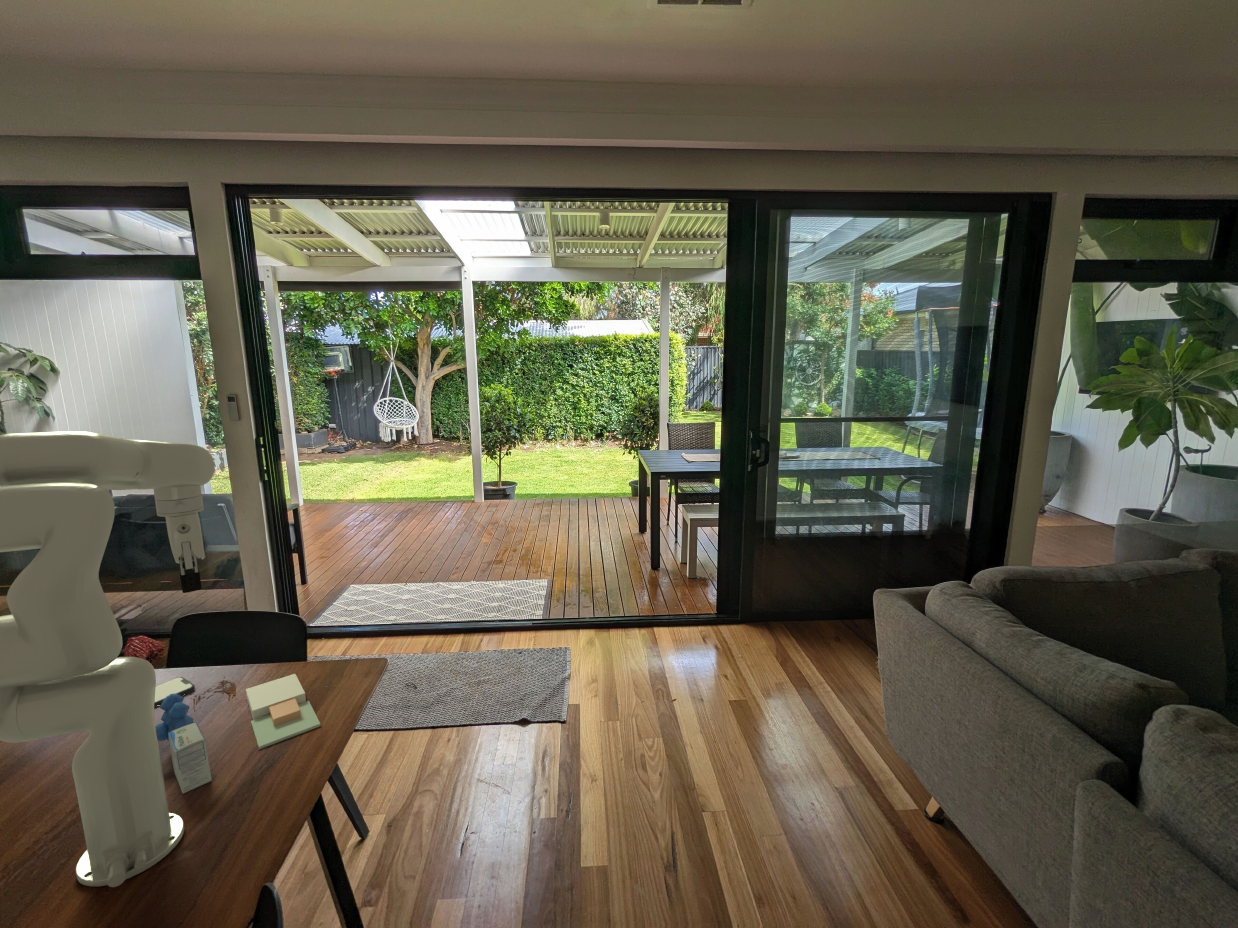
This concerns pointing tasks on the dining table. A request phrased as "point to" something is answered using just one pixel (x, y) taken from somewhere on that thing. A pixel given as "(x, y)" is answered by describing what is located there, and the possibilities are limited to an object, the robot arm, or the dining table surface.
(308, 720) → the mat
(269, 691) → the plate
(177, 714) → the grapes
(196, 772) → the medicine box
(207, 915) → the dining table surface
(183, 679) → the smartphone
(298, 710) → the tile
